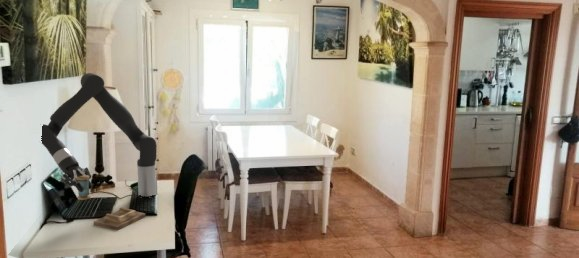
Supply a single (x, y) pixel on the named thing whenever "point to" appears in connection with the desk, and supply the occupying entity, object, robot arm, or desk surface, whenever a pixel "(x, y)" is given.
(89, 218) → the desk surface
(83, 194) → the bobbin
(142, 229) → the desk surface
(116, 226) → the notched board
